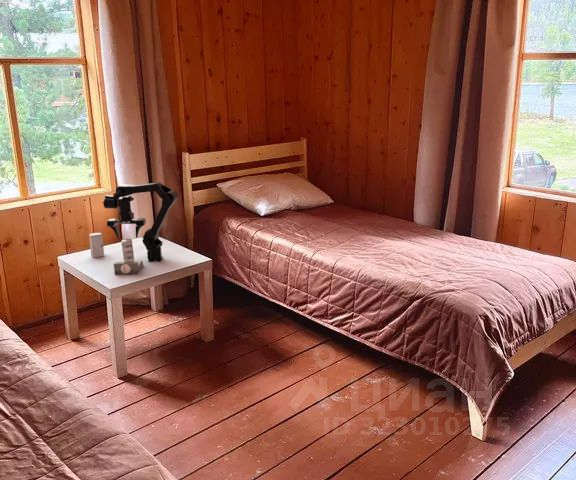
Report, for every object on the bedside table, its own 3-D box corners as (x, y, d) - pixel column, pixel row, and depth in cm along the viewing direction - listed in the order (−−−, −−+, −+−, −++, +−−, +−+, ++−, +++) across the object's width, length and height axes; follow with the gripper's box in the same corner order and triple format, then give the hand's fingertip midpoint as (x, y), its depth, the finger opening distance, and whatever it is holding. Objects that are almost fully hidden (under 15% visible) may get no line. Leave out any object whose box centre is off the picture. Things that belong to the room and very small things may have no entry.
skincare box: (93, 257, 293) (90, 235, 289) (90, 255, 297) (88, 233, 293) (104, 255, 296) (102, 234, 293) (102, 253, 300) (100, 232, 296)
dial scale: (143, 265, 282) (142, 254, 280) (137, 274, 269) (136, 263, 267) (121, 265, 281) (120, 255, 280) (114, 275, 268) (113, 264, 267)
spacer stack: (132, 260, 279) (129, 238, 275) (136, 263, 275) (133, 240, 271) (122, 263, 276) (119, 240, 272) (126, 265, 272) (123, 242, 268)
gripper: (146, 205, 292) (149, 233, 297) (110, 205, 292) (113, 234, 296) (142, 210, 282) (144, 239, 286) (105, 210, 281) (108, 240, 286)
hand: (127, 238), depth 289 cm, fingers open, 9 cm apart
